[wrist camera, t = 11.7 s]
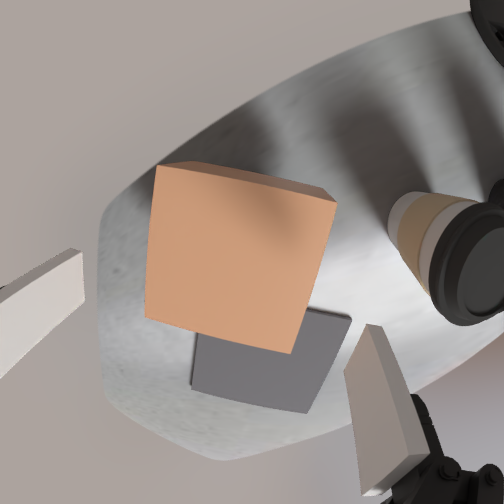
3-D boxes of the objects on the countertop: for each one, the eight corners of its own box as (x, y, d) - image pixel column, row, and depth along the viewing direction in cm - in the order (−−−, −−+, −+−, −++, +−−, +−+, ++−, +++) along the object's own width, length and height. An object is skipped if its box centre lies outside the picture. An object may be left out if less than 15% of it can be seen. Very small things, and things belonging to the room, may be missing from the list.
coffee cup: (361, 238, 29) (418, 311, 15) (403, 164, 26) (493, 180, 12) (421, 275, 30) (488, 352, 15) (460, 209, 26) (550, 252, 12)
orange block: (322, 188, 22) (337, 202, 16) (290, 305, 26) (290, 354, 19) (192, 160, 23) (157, 165, 16) (176, 278, 26) (144, 317, 20)
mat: (351, 317, 32) (352, 320, 32) (306, 410, 38) (306, 413, 37) (206, 285, 33) (205, 287, 32) (192, 386, 38) (191, 389, 38)
